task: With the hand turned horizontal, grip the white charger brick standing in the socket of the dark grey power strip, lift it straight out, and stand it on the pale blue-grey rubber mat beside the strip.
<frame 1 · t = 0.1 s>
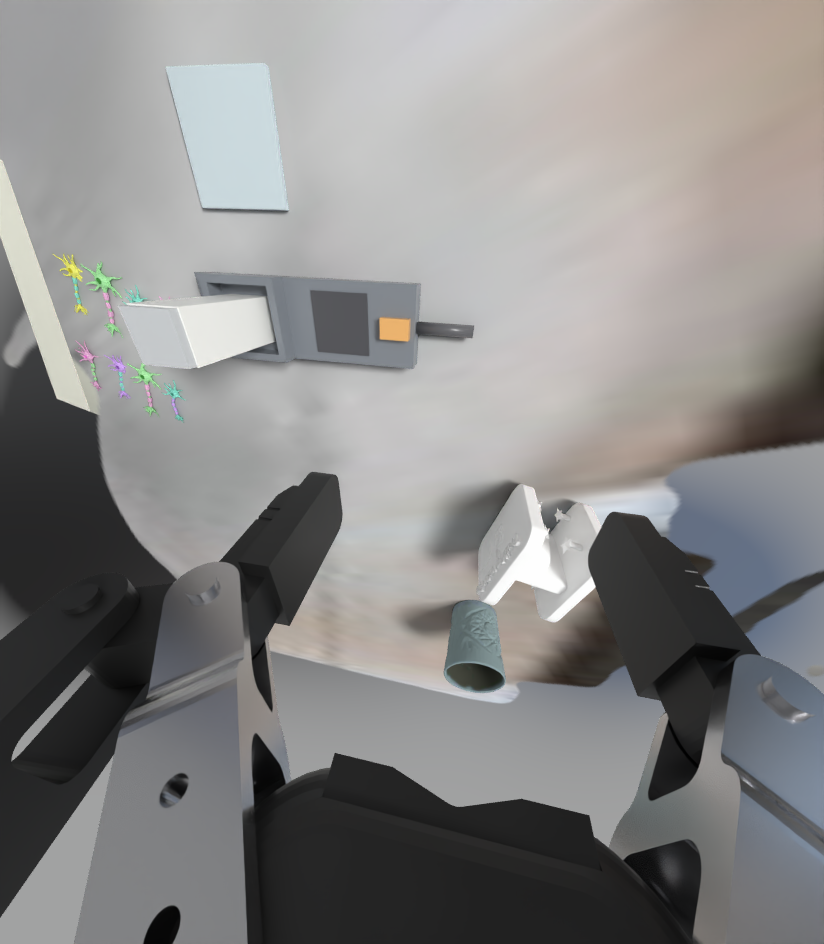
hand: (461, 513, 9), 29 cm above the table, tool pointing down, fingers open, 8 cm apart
drinking glass: (474, 611, 60), on the table
mat: (234, 145, 28), on the table
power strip: (316, 318, 35), on the table
cable organizer: (526, 521, 46), on the table
charger: (255, 317, 34), point 2 cm above the table, touching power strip
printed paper: (138, 344, 42), on the table
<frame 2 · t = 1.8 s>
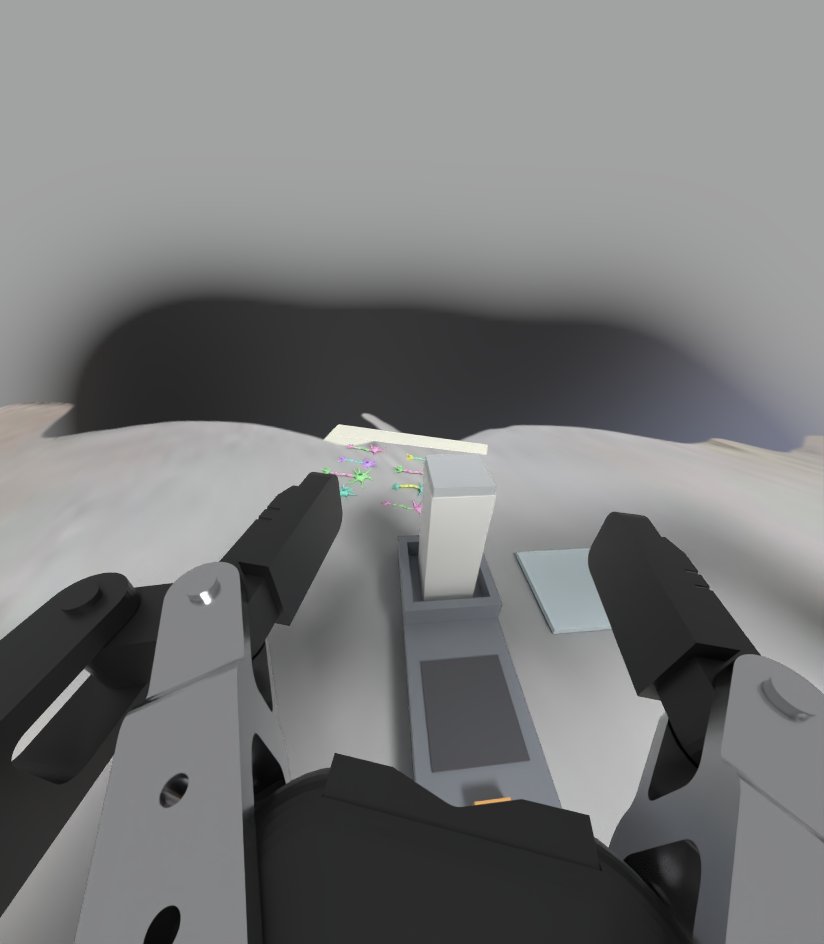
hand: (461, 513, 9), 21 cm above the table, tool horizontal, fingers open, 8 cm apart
mat: (573, 587, 31), on the table
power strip: (453, 660, 25), on the table
charger: (443, 580, 29), point 2 cm above the table, touching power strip
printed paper: (386, 481, 47), on the table
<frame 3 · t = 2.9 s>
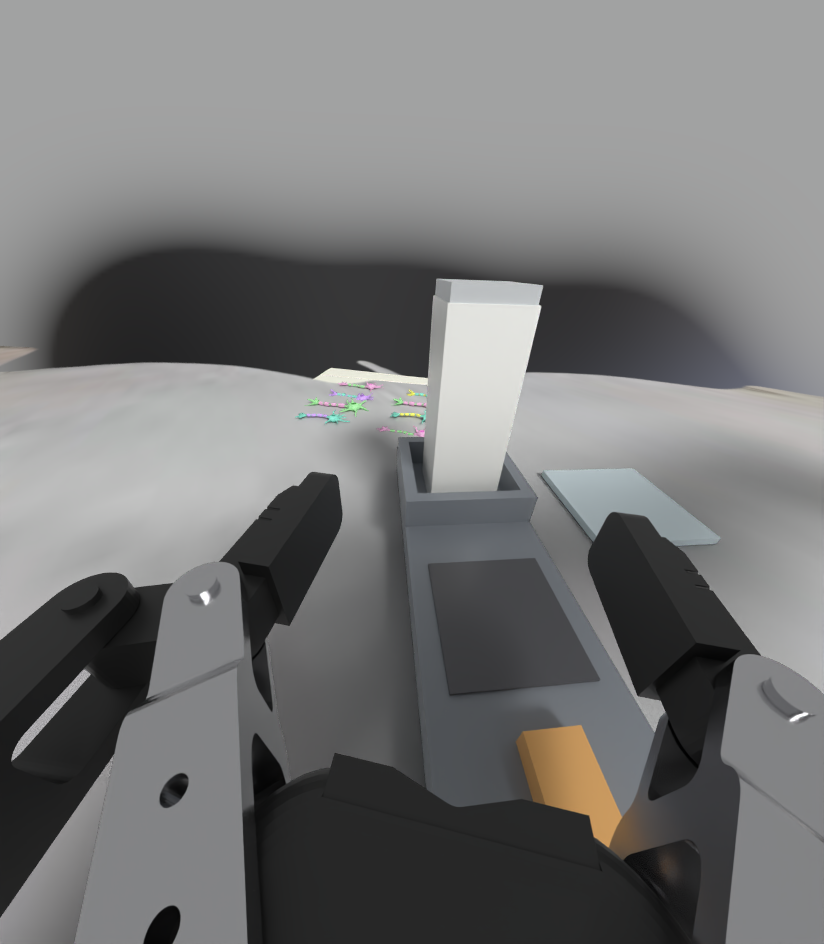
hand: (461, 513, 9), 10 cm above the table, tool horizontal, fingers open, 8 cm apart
mat: (617, 505, 25), on the table
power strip: (470, 576, 19), on the table
charger: (455, 486, 22), point 2 cm above the table, touching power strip
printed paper: (383, 414, 41), on the table
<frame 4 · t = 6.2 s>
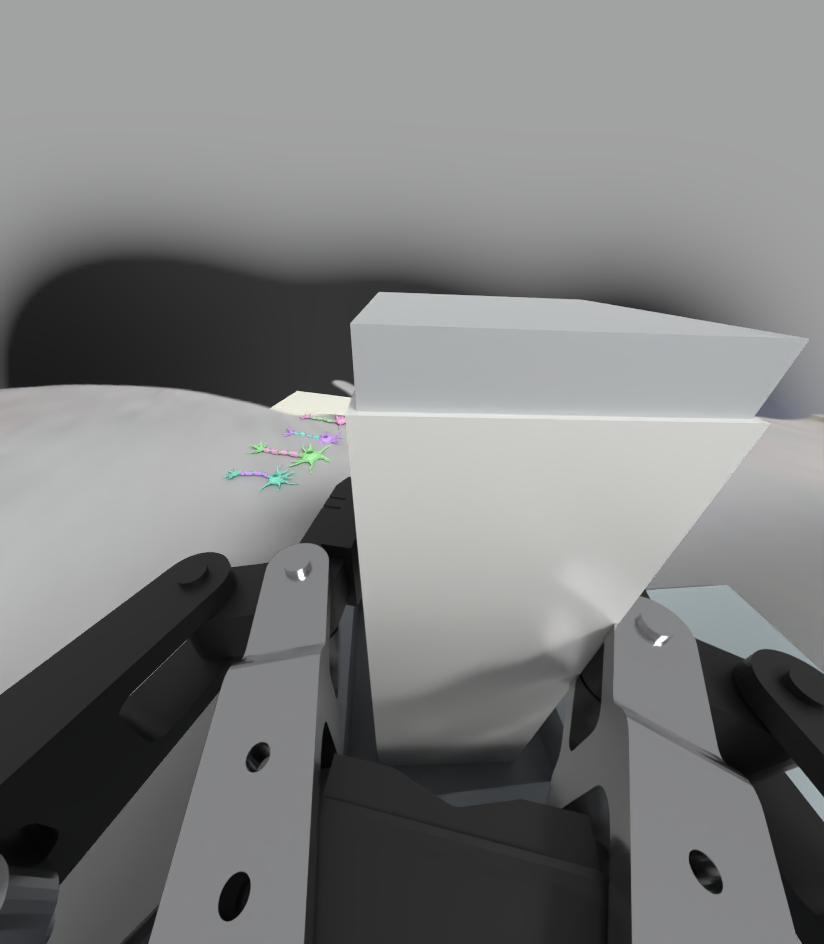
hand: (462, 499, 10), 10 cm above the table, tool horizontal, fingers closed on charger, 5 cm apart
mat: (724, 680, 14), on the table
charger: (439, 685, 12), point 3 cm above the table, touching gripper, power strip
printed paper: (352, 464, 30), on the table
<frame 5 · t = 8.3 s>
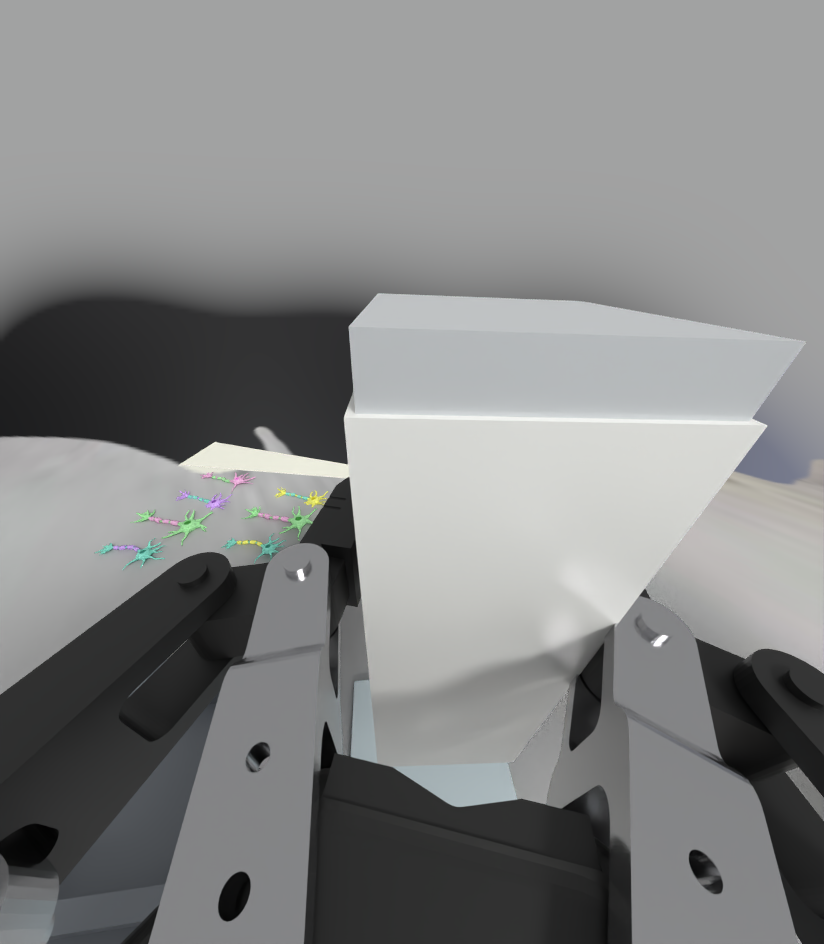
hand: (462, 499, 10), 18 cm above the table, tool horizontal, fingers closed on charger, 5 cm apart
mat: (428, 765, 18), on the table
charger: (439, 686, 12), point 11 cm above the table, touching gripper
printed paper: (231, 530, 33), on the table
when the fingers open (9 cm above the table, at t = 10.5 s): charger drops 1 cm, resting on mat.
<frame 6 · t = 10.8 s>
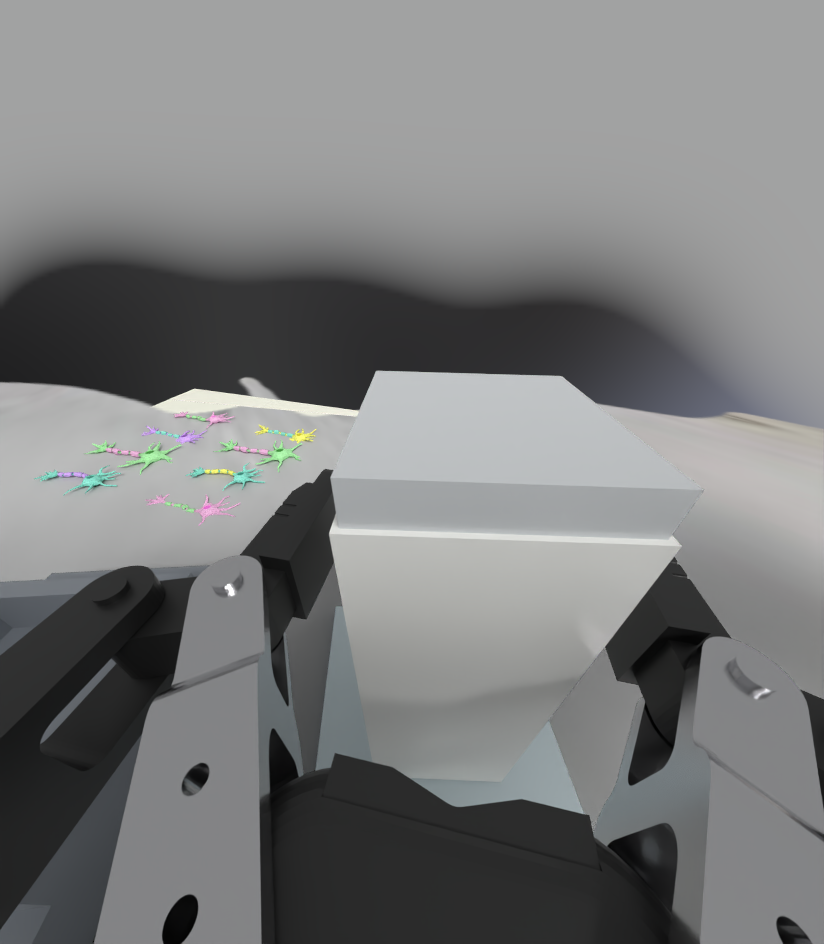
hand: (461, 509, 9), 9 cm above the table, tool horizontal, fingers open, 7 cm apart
mat: (432, 705, 13), on the table
charger: (435, 703, 12), point 1 cm above the table, touching mat
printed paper: (202, 465, 29), on the table
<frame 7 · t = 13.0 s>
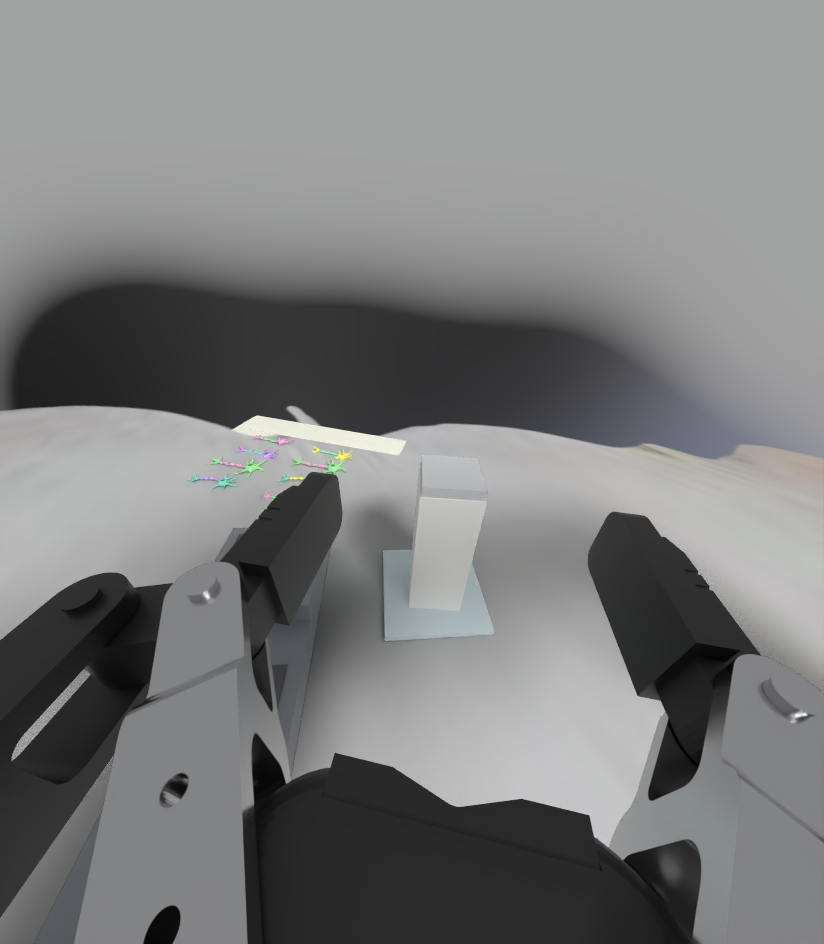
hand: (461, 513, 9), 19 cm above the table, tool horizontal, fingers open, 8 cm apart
mat: (431, 589, 28), on the table
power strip: (253, 670, 22), on the table
charger: (433, 587, 28), point 1 cm above the table, touching mat
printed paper: (281, 473, 44), on the table
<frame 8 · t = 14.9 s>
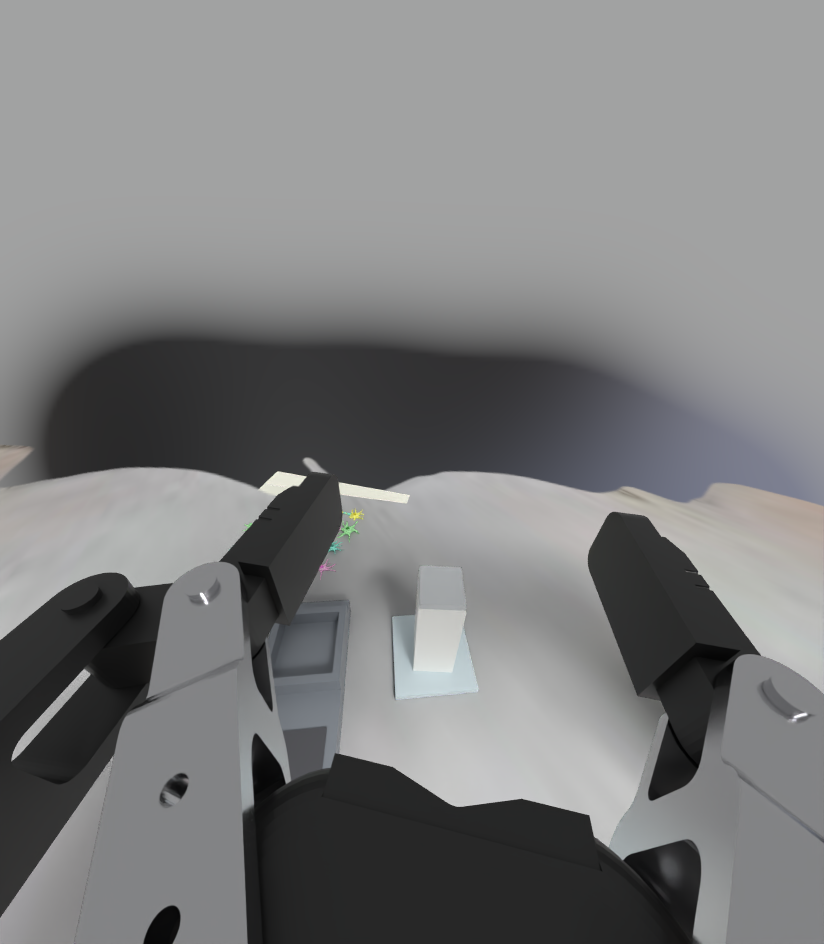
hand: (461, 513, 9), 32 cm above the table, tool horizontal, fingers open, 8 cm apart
mat: (431, 652, 36), on the table
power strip: (300, 726, 30), on the table
charger: (432, 651, 36), point 1 cm above the table, touching mat
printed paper: (304, 535, 52), on the table
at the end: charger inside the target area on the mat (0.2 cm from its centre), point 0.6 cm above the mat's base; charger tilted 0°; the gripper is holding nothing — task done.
